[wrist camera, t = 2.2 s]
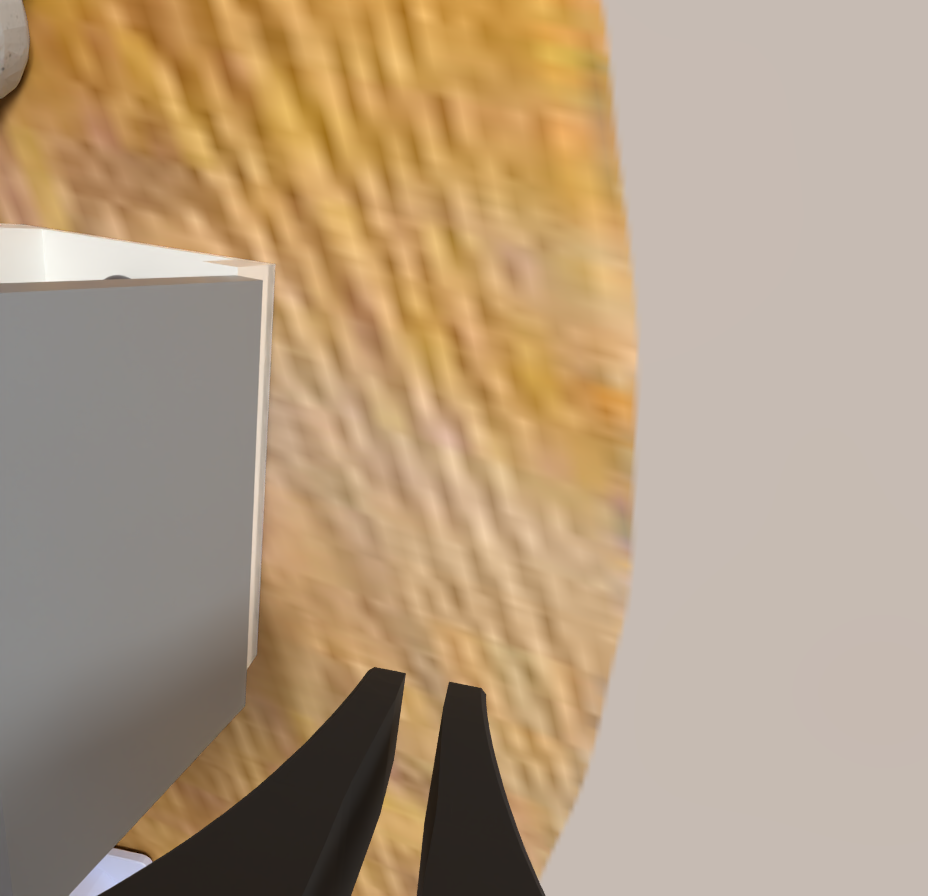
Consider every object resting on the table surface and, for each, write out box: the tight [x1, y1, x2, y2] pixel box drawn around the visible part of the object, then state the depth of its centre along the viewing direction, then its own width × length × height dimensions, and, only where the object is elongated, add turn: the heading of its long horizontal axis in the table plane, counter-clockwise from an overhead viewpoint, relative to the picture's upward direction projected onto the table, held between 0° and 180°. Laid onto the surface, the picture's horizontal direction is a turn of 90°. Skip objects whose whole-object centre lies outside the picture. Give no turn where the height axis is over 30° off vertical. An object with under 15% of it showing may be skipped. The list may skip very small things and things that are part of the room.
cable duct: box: [0, 224, 275, 669], centre depth 20 cm, size 14×8×2 cm, turn 172°
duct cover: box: [0, 275, 263, 896], centre depth 15 cm, size 14×8×1 cm
